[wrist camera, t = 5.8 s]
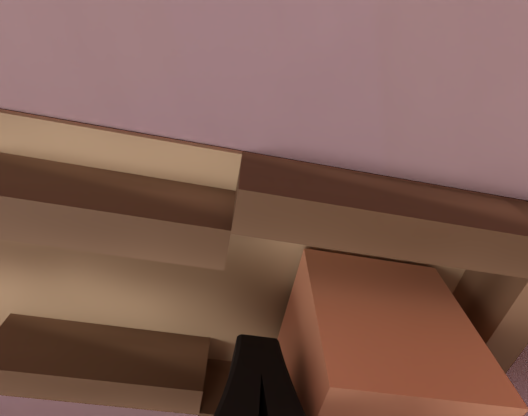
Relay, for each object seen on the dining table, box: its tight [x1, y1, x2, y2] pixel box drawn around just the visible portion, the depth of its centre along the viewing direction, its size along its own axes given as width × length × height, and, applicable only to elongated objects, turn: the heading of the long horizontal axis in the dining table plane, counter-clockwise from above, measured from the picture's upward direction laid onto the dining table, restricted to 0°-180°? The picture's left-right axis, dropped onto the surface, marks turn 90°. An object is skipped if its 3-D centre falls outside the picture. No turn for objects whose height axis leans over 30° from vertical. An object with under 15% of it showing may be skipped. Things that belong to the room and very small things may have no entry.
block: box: [277, 248, 528, 416], centre depth 12 cm, size 5×5×6 cm
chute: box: [0, 109, 528, 416], centre depth 14 cm, size 11×19×3 cm, turn 79°
